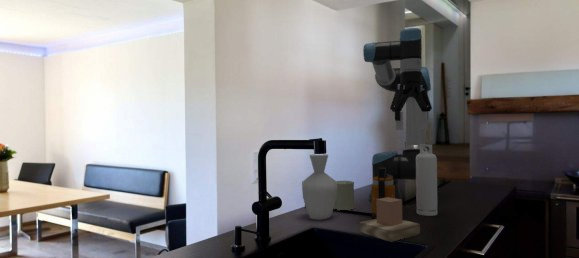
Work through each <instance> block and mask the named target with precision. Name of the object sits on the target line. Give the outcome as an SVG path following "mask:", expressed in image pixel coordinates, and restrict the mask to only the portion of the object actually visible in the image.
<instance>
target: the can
mask: <svg viewBox="0 0 579 258" xmlns="http://www.w3.org/2000/svg"><path fill="white" fill-rule="evenodd" d="M335 181H336V182H337V196H336V200H335V205H334V208H333V210H335V209H337V210H336V211H340V210H349V211H351V210H350V209H353V210H355V209H354V208H355V182H354V181H352V180H335Z"/></svg>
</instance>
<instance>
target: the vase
mask: <svg viewBox="0 0 579 258" xmlns="http://www.w3.org/2000/svg"><path fill="white" fill-rule="evenodd" d="M316 154H317V153H316ZM316 154H313V153H312V154H309V158H310V161H311V165H312V168H313V169H312V170H313V172H312V173H311V174H310V175H308V176H307V177H306V178H305V179H304V180H303V181H301V190H302V200H303V203H304V206H305V208H306V211H307V214H308V216H309V218H310V219H311V220H319V221H320V220H326V219H327V220H328V219H329V218H331V217H332V215H333V212H334V205H335V200H336V196H337V182H336V181H337V180H335V179H334V178H332V177H331V176H330V175H329V174H327V173H326V172H325V169H326V166H327V161H328V158H329V154H325V153H322V154H323V155H316Z"/></svg>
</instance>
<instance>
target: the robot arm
mask: <svg viewBox="0 0 579 258" xmlns="http://www.w3.org/2000/svg"><path fill="white" fill-rule="evenodd" d="M422 39H423V38H422V30H421V29H420V28H418V27H409V28H408V27H407V28H404V29H402V30H400V33H399V40H393V41H381V42H379V41H378V42H370V43H366V44H364V45H363V48H362V49H363V51H362V52H363V61H364V62H365V63H371V64H372V66H373V69H374V72H375V75H374V78H375V81H376V84H377V85H378V86H379V87H381V88H382V89H385V90H386V91H388V92H394V95H393V98H392V101H391V104H390V109H389V110H390V111H391V112H393V113H394V121H395V131H403V130H404V112H403V111H402V109H403V108H404V106H405V147H404V148H403V149H402V153H400V154H399V152H398V151H397V150H393V151H391V150H390V151H384V152H378V153H374V154H373V155H372V158H371V159H372V160H371V161H372V162H371V166H372V169H371V170H372V179H373V178H374V177H377V176H378V172H379V169H380V167H386V169H387V171H386V173H387V174H388V177H389V175H391V176H392V178H393V185H394V186H395V199H401V200H402V201H403V196H402V194H401V189H400V188H399V180H409V181H410V180H411V181H416V156H417V155H418V154H420V145H422V144H426V130H428V128H429V127H428V120H429V112H431V110H432V109H433V107H432V104H431V101H430V98H429V93H428V92H430V91H431V90H432V88H431V87H432V86H431V78H430V72H429V69H428V68H427V67H426V66H423V64H422V63H423V61H422V53H423V52H422V51H423V50H422V49H423V48H422V47H423V46H422ZM392 61H394V62H395V61H400V62H399V63H400V64H399V66H400V67H395V68H394V67H392ZM425 149H427V152H428V151H429V148H428V147H423V150H424V151H425ZM386 176H387V175H386ZM368 201H369V202H370V203H372V191H371V190H370V194H369V195H368Z"/></svg>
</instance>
